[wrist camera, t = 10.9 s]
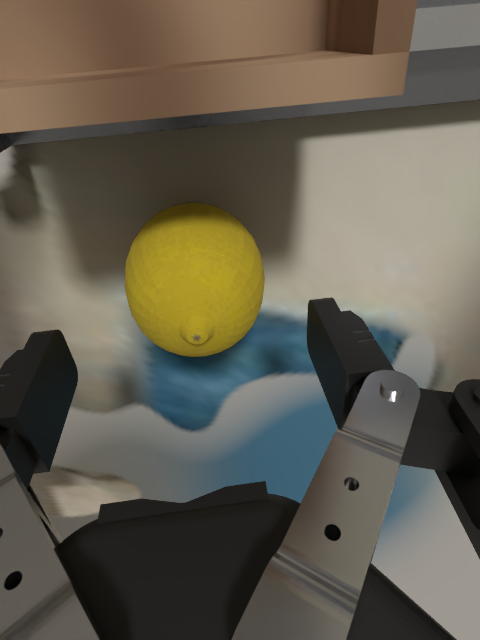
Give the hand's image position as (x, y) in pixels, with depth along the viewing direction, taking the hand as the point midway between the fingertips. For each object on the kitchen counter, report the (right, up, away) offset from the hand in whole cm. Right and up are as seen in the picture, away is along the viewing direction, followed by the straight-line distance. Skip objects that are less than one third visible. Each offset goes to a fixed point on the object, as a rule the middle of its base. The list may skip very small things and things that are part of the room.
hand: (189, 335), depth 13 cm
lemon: (-1, +5, +6) cm, 8 cm away
